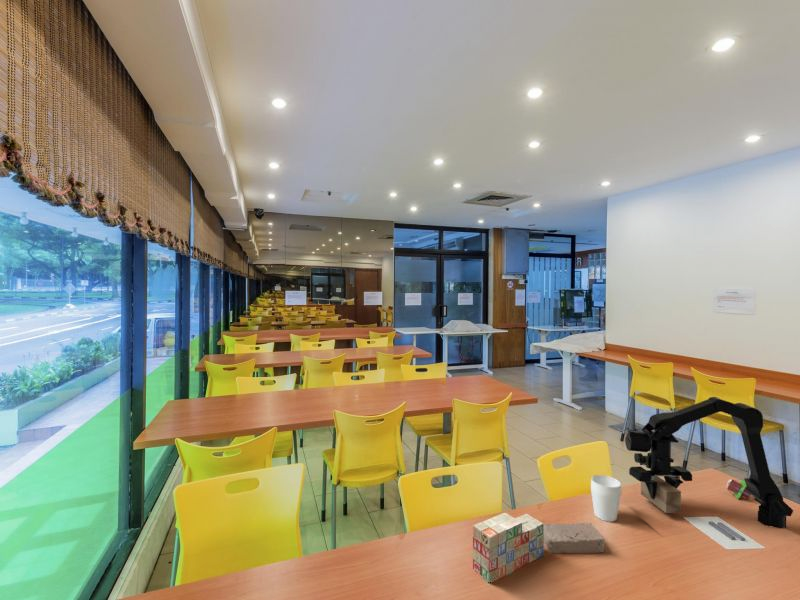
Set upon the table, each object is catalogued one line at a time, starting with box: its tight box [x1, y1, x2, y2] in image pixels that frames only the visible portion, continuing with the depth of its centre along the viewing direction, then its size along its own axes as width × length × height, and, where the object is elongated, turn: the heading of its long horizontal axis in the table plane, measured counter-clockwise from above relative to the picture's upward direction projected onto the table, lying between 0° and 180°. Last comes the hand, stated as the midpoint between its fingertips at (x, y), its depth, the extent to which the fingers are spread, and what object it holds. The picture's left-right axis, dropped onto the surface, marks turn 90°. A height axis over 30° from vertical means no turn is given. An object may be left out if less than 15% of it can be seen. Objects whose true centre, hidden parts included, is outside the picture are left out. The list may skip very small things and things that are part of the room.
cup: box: [590, 474, 622, 523], centre depth 129 cm, size 9×9×12 cm
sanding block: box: [640, 476, 682, 514], centre depth 131 cm, size 5×12×7 cm, turn 3°
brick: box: [543, 522, 606, 554], centre depth 114 cm, size 16×8×5 cm, turn 91°
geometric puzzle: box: [726, 478, 752, 501], centre depth 142 cm, size 7×7×8 cm
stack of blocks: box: [472, 512, 545, 584], centre depth 106 cm, size 21×6×12 cm, turn 121°
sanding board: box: [682, 516, 766, 550], centre depth 118 cm, size 12×16×2 cm
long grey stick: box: [717, 522, 745, 541], centre depth 118 cm, size 1×8×1 cm, turn 3°
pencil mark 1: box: [709, 522, 736, 540], centre depth 118 cm, size 1×8×1 cm, turn 3°
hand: (659, 498), depth 131 cm, fingers closed on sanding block, 5 cm apart
